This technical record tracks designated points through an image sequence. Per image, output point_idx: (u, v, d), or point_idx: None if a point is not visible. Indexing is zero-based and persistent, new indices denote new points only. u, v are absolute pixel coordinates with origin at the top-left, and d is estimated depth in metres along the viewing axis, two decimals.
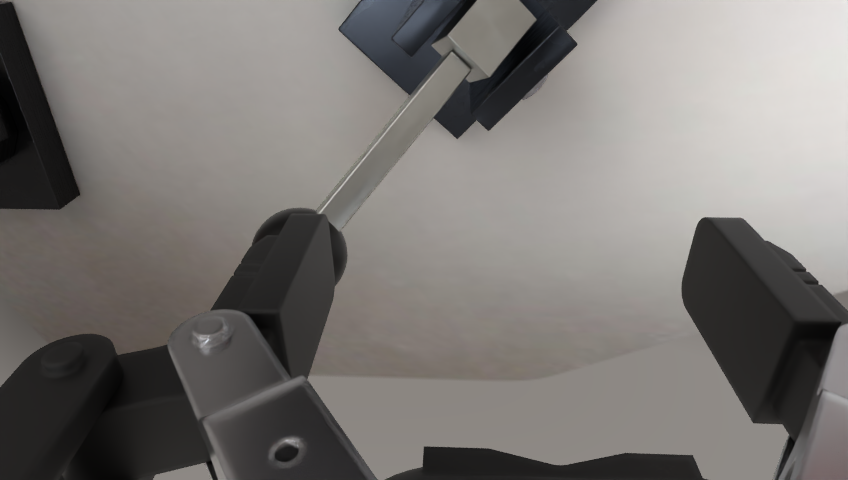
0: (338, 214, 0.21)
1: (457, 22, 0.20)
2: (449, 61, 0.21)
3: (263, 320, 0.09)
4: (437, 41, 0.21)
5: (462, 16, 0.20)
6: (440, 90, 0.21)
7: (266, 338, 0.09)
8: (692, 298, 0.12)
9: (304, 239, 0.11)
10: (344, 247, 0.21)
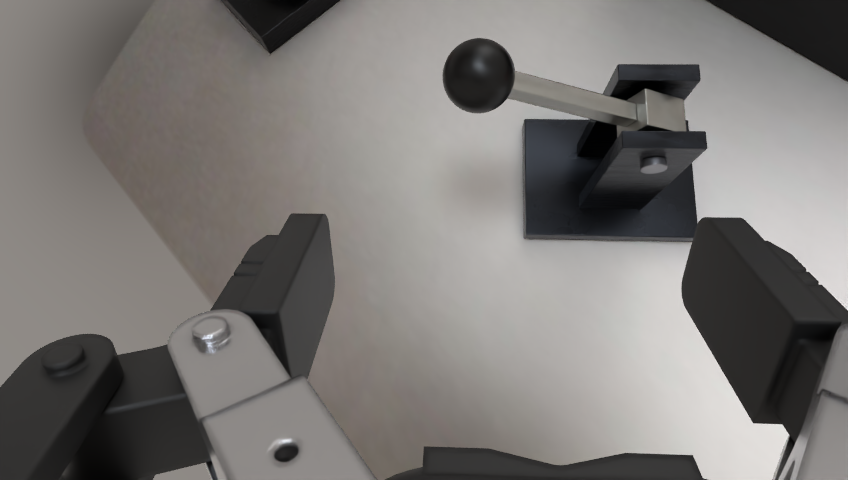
0: (521, 82, 0.28)
1: (653, 91, 0.31)
2: (631, 104, 0.31)
3: (263, 320, 0.09)
4: (627, 100, 0.32)
5: (656, 92, 0.31)
6: (617, 107, 0.30)
7: (266, 338, 0.09)
8: (692, 298, 0.12)
9: (304, 239, 0.11)
10: (508, 95, 0.27)
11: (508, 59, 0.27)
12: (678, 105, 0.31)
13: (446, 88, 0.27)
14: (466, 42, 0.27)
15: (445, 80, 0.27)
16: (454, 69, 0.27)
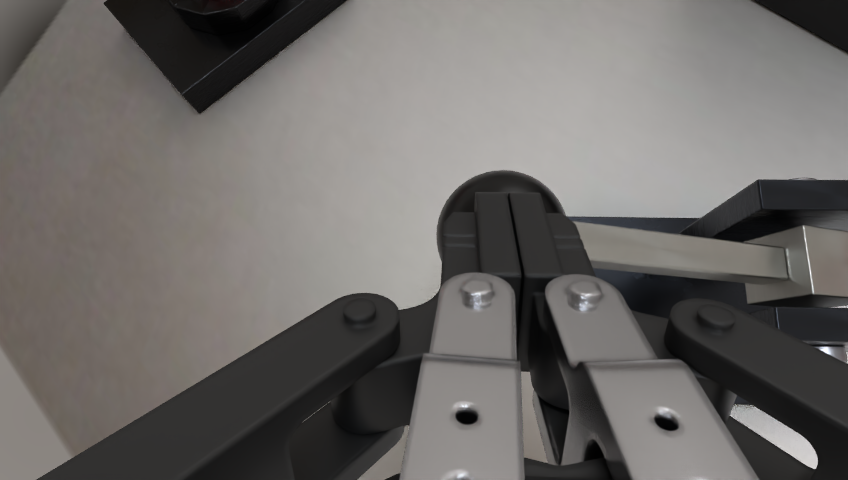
0: None
1: None
2: (776, 251, 0.17)
3: None
4: (764, 236, 0.18)
5: None
6: (752, 262, 0.17)
7: None
8: None
9: (503, 214, 0.11)
10: None
11: None
12: None
13: None
14: (476, 183, 0.14)
15: (439, 251, 0.15)
16: None
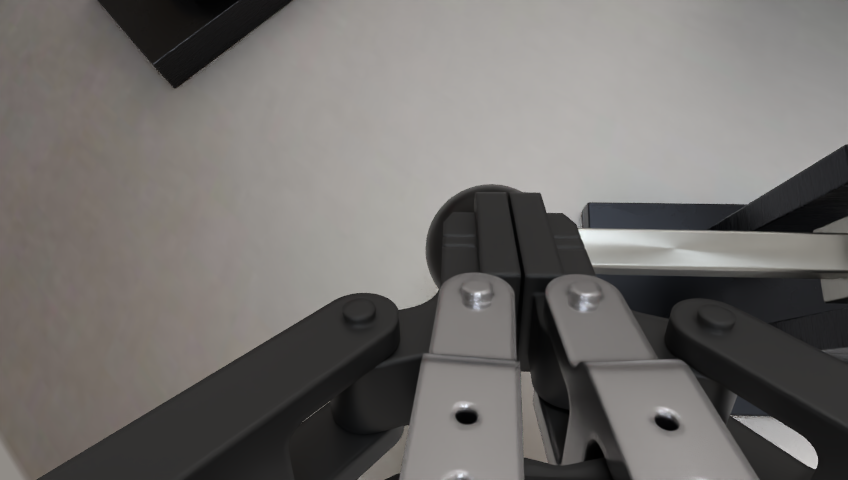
0: None
1: None
2: (841, 239, 0.15)
3: None
4: (835, 221, 0.15)
5: None
6: (804, 254, 0.15)
7: None
8: None
9: (503, 214, 0.11)
10: None
11: None
12: None
13: None
14: (451, 201, 0.15)
15: None
16: (431, 256, 0.15)
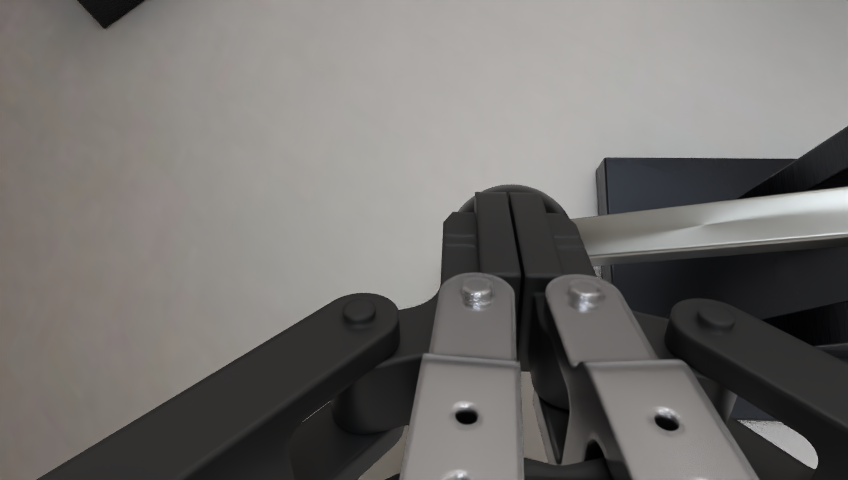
0: (585, 240, 0.14)
1: None
2: None
3: None
4: None
5: None
6: None
7: None
8: None
9: (503, 214, 0.11)
10: None
11: None
12: None
13: None
14: (460, 208, 0.15)
15: None
16: None
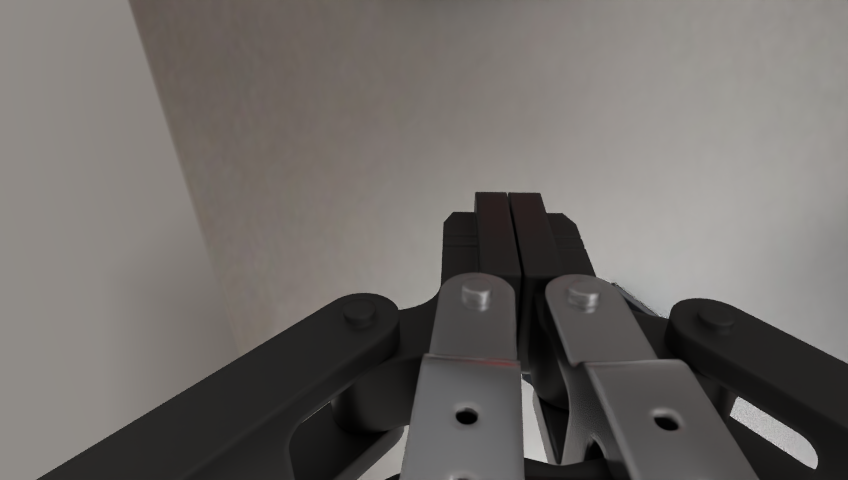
0: None
1: None
2: None
3: None
4: None
5: None
6: None
7: None
8: None
9: (503, 214, 0.11)
10: (529, 373, 0.32)
11: None
12: None
13: None
14: None
15: None
16: None
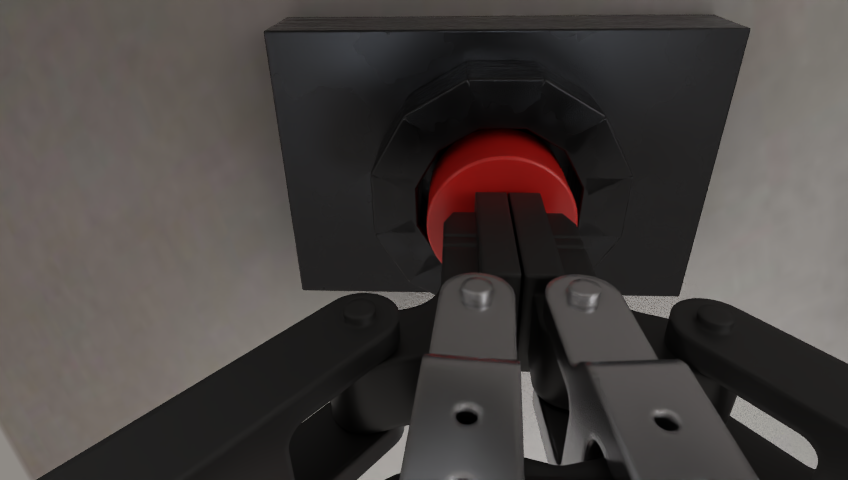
0: None
1: None
2: None
3: None
4: None
5: None
6: None
7: None
8: None
9: (503, 214, 0.11)
10: None
11: None
12: None
13: None
14: None
15: None
16: None
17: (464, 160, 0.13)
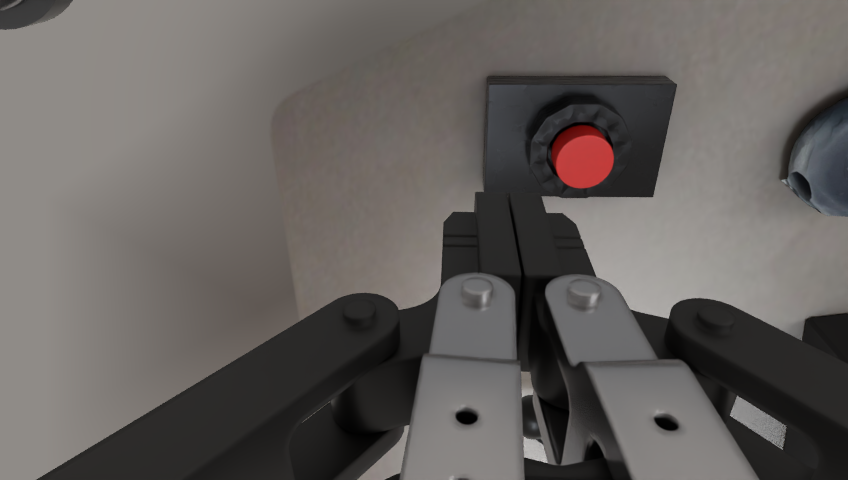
0: None
1: None
2: None
3: None
4: None
5: None
6: None
7: None
8: None
9: (503, 214, 0.11)
10: None
11: (538, 432, 0.45)
12: None
13: None
14: (531, 404, 0.46)
15: None
16: None
17: (571, 137, 0.34)
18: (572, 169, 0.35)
